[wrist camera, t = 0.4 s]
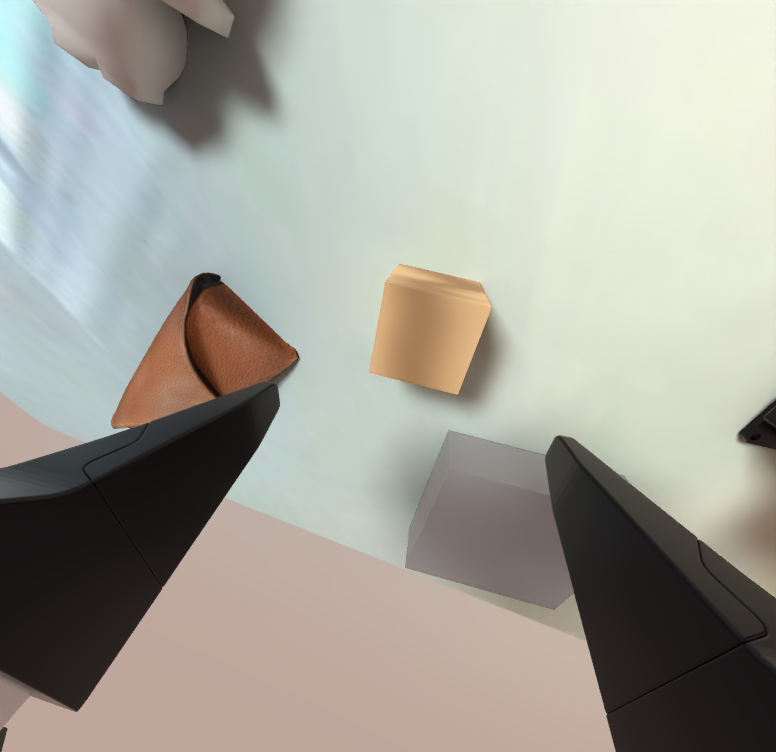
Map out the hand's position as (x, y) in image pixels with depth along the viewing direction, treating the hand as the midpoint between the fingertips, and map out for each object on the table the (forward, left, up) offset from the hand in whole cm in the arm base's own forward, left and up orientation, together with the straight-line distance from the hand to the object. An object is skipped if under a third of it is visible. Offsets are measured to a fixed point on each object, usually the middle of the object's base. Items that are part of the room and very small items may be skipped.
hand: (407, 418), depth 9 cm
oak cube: (0, 0, -11) cm, 11 cm away
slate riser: (-11, +16, -11) cm, 22 cm away
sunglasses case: (+17, +10, -12) cm, 23 cm away
